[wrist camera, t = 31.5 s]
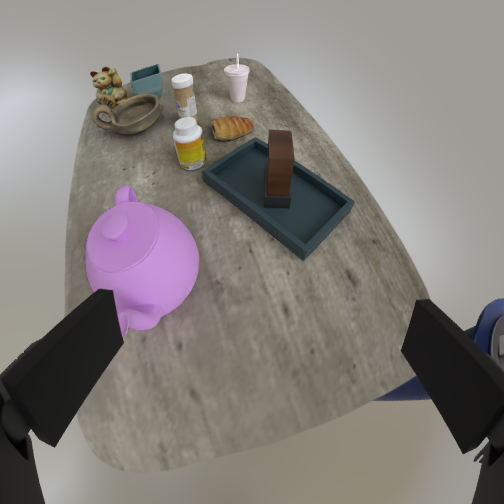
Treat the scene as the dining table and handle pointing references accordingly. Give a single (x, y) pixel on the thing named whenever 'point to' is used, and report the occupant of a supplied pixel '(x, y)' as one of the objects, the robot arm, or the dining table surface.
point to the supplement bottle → (189, 143)
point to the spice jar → (185, 96)
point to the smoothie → (237, 80)
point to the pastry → (231, 127)
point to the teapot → (141, 260)
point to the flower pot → (147, 81)
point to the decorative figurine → (108, 87)
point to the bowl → (130, 114)
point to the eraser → (278, 170)
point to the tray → (280, 219)
